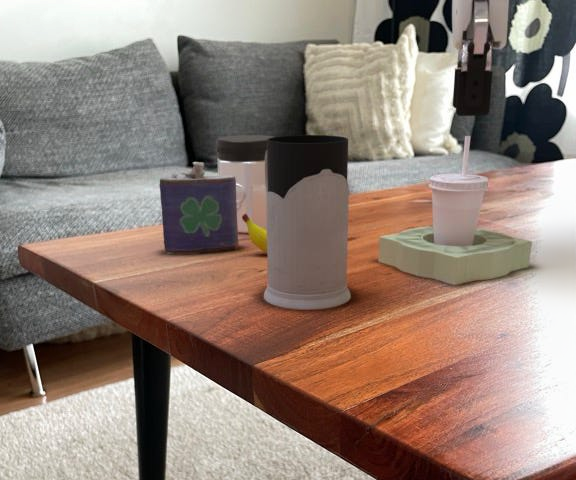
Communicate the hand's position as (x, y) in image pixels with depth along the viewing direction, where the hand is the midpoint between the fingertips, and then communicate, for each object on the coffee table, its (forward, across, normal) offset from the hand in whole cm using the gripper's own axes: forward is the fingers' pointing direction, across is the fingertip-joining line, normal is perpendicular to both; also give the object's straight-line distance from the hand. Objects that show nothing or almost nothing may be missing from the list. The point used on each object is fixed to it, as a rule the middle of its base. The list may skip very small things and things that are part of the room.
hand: (469, 111), depth 76 cm
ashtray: (+16, 0, +1) cm, 17 cm away
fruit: (+16, +1, +20) cm, 26 cm away
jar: (+16, +16, +28) cm, 36 cm away
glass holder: (+16, -12, +17) cm, 27 cm away
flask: (+16, +2, +31) cm, 35 cm away
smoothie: (+17, 0, +1) cm, 17 cm away
